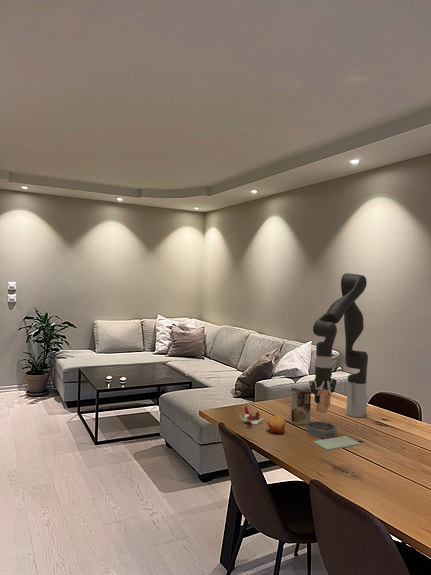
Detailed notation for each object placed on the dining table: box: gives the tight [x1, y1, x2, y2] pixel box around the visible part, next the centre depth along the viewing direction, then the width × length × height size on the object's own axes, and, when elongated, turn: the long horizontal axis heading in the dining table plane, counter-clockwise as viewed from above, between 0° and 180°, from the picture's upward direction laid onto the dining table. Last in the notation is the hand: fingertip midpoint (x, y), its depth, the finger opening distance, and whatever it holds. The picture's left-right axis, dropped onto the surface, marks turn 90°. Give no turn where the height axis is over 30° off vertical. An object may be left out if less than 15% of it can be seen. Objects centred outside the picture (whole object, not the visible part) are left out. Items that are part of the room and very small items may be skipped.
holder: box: [305, 420, 338, 439], centre depth 196 cm, size 13×13×3 cm
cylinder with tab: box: [315, 388, 331, 414], centre depth 195 cm, size 7×5×10 cm
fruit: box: [266, 415, 286, 434], centre depth 196 cm, size 8×8×8 cm
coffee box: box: [289, 387, 312, 426], centre depth 209 cm, size 9×6×16 cm
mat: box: [312, 435, 362, 451], centre depth 184 cm, size 18×9×1 cm, turn 115°
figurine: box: [239, 405, 264, 425], centre depth 206 cm, size 15×12×7 cm
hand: (322, 402), depth 196 cm, fingers closed on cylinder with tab, 5 cm apart
